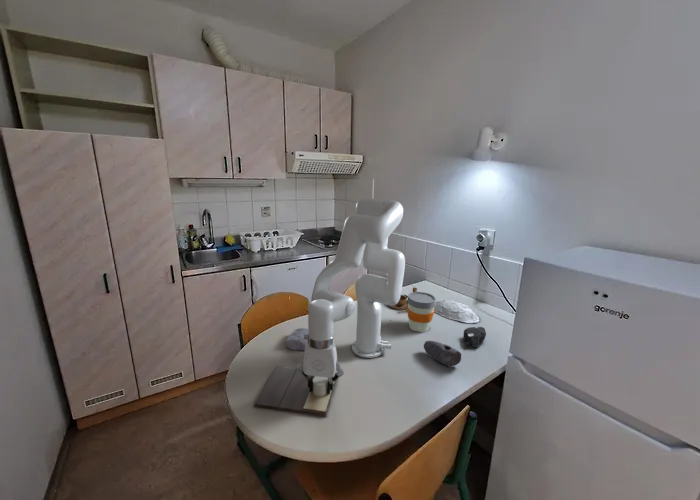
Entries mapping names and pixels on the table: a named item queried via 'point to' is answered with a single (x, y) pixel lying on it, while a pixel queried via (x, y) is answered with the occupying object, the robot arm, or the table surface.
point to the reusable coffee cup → (420, 310)
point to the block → (297, 339)
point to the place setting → (402, 302)
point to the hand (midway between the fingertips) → (320, 389)
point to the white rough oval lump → (455, 311)
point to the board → (292, 394)
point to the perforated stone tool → (442, 353)
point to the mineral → (474, 336)
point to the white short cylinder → (320, 385)
